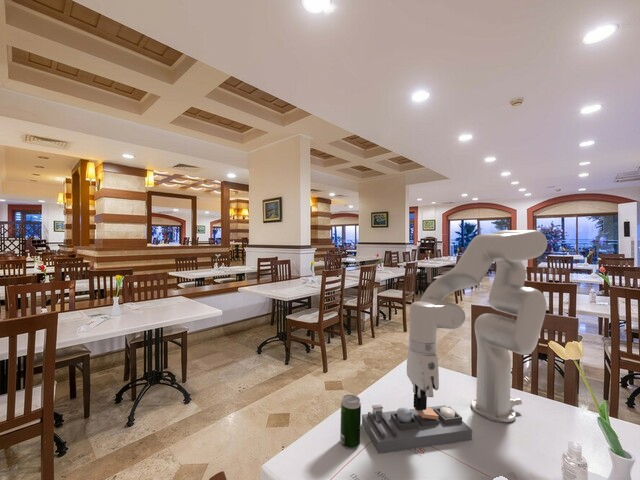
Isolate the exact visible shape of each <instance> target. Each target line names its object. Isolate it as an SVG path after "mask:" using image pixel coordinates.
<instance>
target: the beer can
mask: <svg viewBox="0 0 640 480" xmlns="http://www.w3.org/2000/svg"><path fill="white" fill-rule="evenodd" d="M361 409H362V402H361V399H360V397H359V396H357V395H356V394H355V395H354V394H345V395H343V396H342V398H341V402H340V428H339V430H340V434H339V435H340V437H339V438H340V439H339V441H340V444H341V446H342V448H344V449H346V450H350V451H353V450H356V449H357V448H359V446H360V444H361V425H362V410H361Z"/></svg>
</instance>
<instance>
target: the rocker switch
mask: <svg viewBox="0 0 640 480" xmlns="http://www.w3.org/2000/svg"><path fill="white" fill-rule="evenodd" d="M427 407H428V406H427ZM427 407H426V410H419V411H417V410H416V409H415V408H414V409H415V410H416V411H417V413H418V414H419V415H420V416H421V417H422V418H430V419H438V417H439V416H438V415H437V414H436V413H435V412H434V411H433V410H432V409H431V408H427Z"/></svg>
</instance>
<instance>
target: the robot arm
mask: <svg viewBox="0 0 640 480" xmlns="http://www.w3.org/2000/svg"><path fill="white" fill-rule="evenodd" d="M547 248H548V239H547V237H546V236H545V234H544V233H543V232H542V231H540V230H536V229H523V230H521V229H520V230H519V229H518V230H514V229H513V230H507V229H505V230H498V231H495V232H492V233H485V234H484V233H482V234H478V235H476V236H474V237H473V238H472V239H471V241H470V242H469V243H468V245H467V247H466V249H465V250H464V252H463V253H462V255H461V257H460V258H459V259H458V261H457V263H456V264H455V266H454V267H453V268H452V269H450V270H449V271H447V272H445V273H444V274H442V275H441V276H440V277H438V278H437V279H435V280H434V281H432V282H431V283H430V284H429V286H428V287H426V289H425V291H424V292H423V294H422V296H421V298H420V299H419V301H414V302H413V301H412V302H411V304H410V306H409V318H408V319H409V321H408V350H407V359H406V376H407V378H408V379H409V381H410V382H411V385H412V392H413V409H416V410H417V411H419V410H426V407H428V405H427V403H428V402H427V400H428V398H433V397H434V390H435V391H439V386H440V382H439V381H440V375H439V361H438V355H437V353H436V352H437V329H445V330H455V329H459V328H460V327H461V326H462V325H463V324H464V323H465V320H466V313H465V311H464V310H463V308H462V307H461V306H460V305H458V304H456V303H454V302H450V301H446V300H445V298H447V296H449V295H450V294H452V293H454V292H456V291H461V290H464V289H468V288H472V287H476V286H478V285H480V284H481V282H482V281H483V279H484V278H485V276H486V274H487V272H488V271H489V269H490V268H491V266H492V265H493V263H494V262H495V264H496V270H495V274H494V279H493V281H492V284H491V287H490V291H489V294H488V301H487V302H488V305H489V306H490V308H492V309H493V310H496V311H498V312H501V313H505V314H508V315H512V316H516V319H513V318H510V317H507V316H503V315H500V314H495V313H490V312H489V313H487V312H486V313H482V314H480V315H479V316H478V317H476V319H475V321H474V334H475V339H476V340H475V341H476V346H477V347H476V348H477V349H476V350H477V357H476V358H477V360H476V395H475V397H474V398H472V399H471V401H470V407H471V408H472V410H473V411H474V412H475V413H476V414H478V415H479V416H482V417H483V418H485V419H487V420H490V421H494V422H499V423H511V422H513V421H515V419H516V416H517V415H516V414H517V413H516V412H515V410H514V409H513V407H515V406H522V404H523V401H522V399H521V398H519V397H517V398H512V396H511V383H512V382H511V380H512V376H511V375H512V373H511V372H512V360H511V356H510V353H509V352H514V353H515V354H519V355H524V356H525V355H527V356H528V355H529V354H531V353H533V352H534V350H535V349H536V347H537V344H538V342H539V339H540V335H541V331H542V329H543V328H542V327H543V324H544V321H545V317H546V312H547V301H546V297H545V295H544V294H543V293H542V291H540V290H539V289H536V288H534V287H529V286H528V287H527V286H525V281H526V278H527V269H526V267H525V265H524V263H523V262H524V261H528V260H532V259H536V258H538V257H541V256H542V255H543V254H544V253H545V252H546V250H547Z"/></svg>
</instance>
